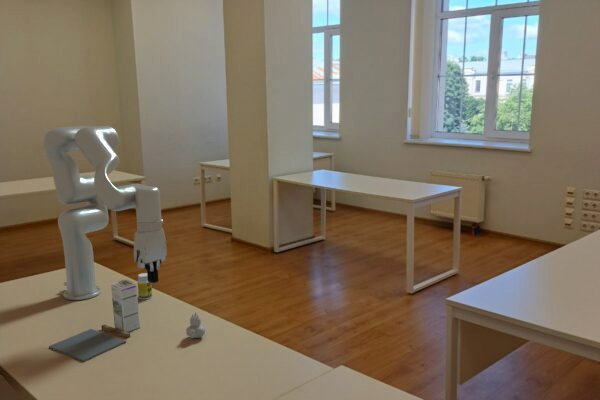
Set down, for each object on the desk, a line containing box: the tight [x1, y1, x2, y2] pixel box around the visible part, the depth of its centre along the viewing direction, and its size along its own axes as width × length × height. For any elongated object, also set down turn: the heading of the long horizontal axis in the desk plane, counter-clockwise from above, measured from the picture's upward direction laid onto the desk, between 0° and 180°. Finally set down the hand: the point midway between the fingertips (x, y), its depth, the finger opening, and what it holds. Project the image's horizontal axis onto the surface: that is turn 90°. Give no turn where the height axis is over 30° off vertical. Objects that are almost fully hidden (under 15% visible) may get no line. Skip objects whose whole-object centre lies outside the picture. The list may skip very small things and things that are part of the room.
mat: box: [48, 328, 127, 363], centre depth 158 cm, size 16×14×1 cm
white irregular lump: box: [185, 311, 206, 339], centre depth 161 cm, size 5×7×8 cm
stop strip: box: [101, 324, 131, 339], centre depth 166 cm, size 12×1×1 cm, turn 56°
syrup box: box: [110, 279, 141, 333], centre depth 168 cm, size 6×6×14 cm
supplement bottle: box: [137, 272, 153, 300], centre depth 194 cm, size 5×5×8 cm
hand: (153, 281), depth 176 cm, fingers closed
